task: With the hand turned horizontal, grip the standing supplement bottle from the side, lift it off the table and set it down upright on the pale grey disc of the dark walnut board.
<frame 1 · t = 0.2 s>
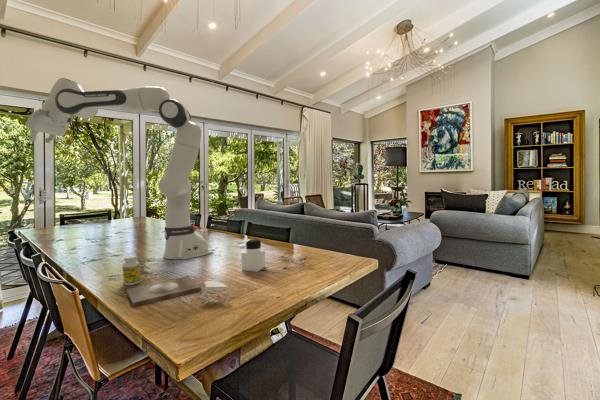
hand: (40, 141, 134), 54 cm above the table, tool tilted 30°, fingers open, 8 cm apart
supplement bottle: (132, 283, 110), on the table
walnut board: (163, 291, 101), on the table
medicine bottle: (253, 269, 124), on the table
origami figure: (216, 301, 93), on the table
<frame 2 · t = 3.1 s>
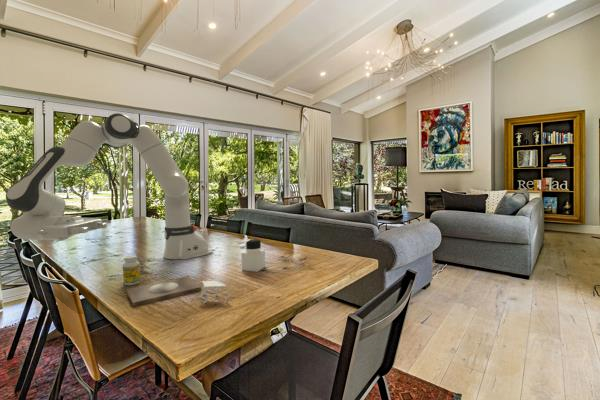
hand: (96, 227, 109), 20 cm above the table, tool horizontal, fingers open, 8 cm apart
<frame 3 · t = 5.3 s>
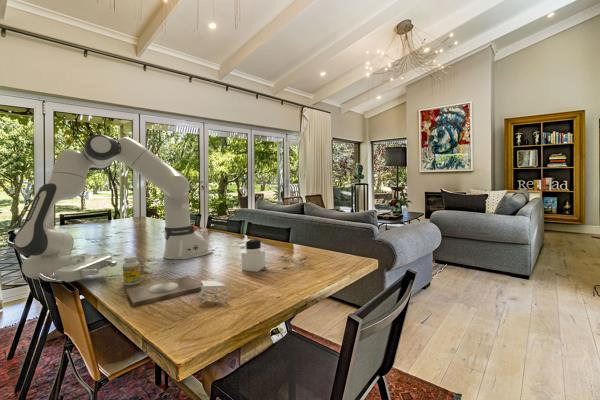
hand: (106, 267, 110), 5 cm above the table, tool horizontal, fingers open, 8 cm apart
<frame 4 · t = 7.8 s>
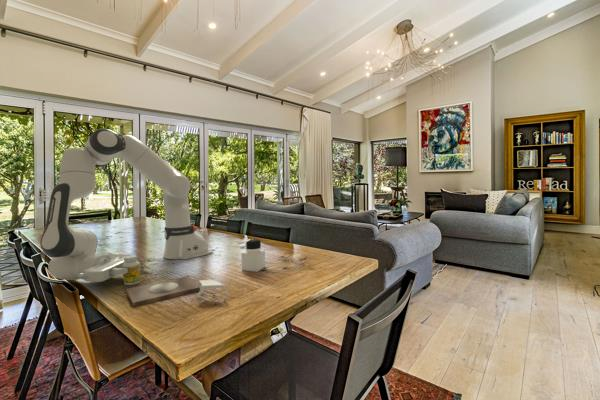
hand: (133, 267, 109), 6 cm above the table, tool horizontal, fingers closed on supplement bottle, 5 cm apart
supplement bottle: (132, 283, 110), on the table, touching gripper
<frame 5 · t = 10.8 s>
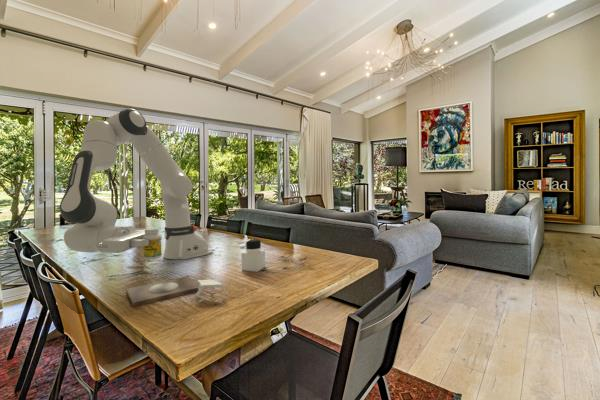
hand: (154, 240, 101), 17 cm above the table, tool horizontal, fingers closed on supplement bottle, 5 cm apart
supplement bottle: (152, 258, 101), point 11 cm above the table, touching gripper
when the fingers open (8 cm above the table, at t = 13.6 s): supplement bottle stays where it is, resting on walnut board.
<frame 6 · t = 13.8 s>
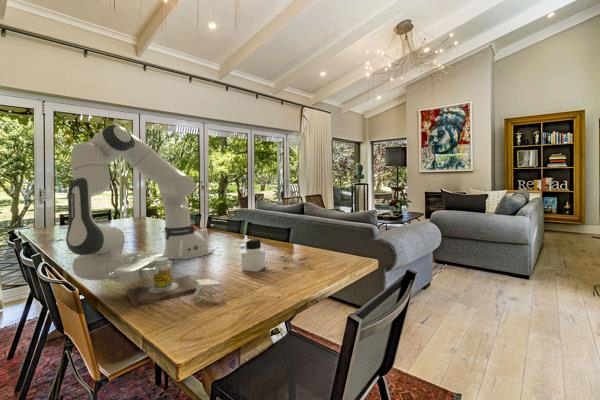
hand: (165, 267, 100), 8 cm above the table, tool horizontal, fingers open, 7 cm apart
supplement bottle: (163, 287, 101), point 1 cm above the table, touching walnut board
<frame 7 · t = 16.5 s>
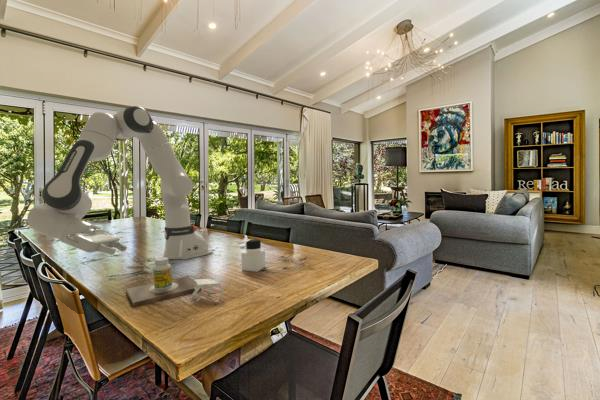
hand: (120, 250, 106), 13 cm above the table, tool tilted 65°, fingers open, 8 cm apart
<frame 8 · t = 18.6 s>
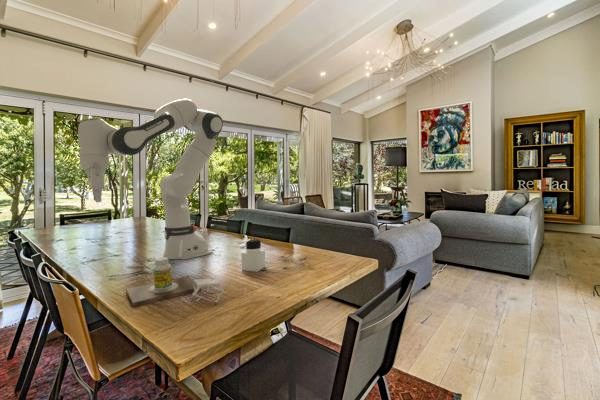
hand: (97, 201, 113), 29 cm above the table, tool pointing down, fingers open, 8 cm apart
at the end: supplement bottle inside the target area on the walnut board (0.1 cm from its centre), point 1.2 cm above the walnut board's base; supplement bottle tilted 0°; the gripper is holding nothing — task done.
